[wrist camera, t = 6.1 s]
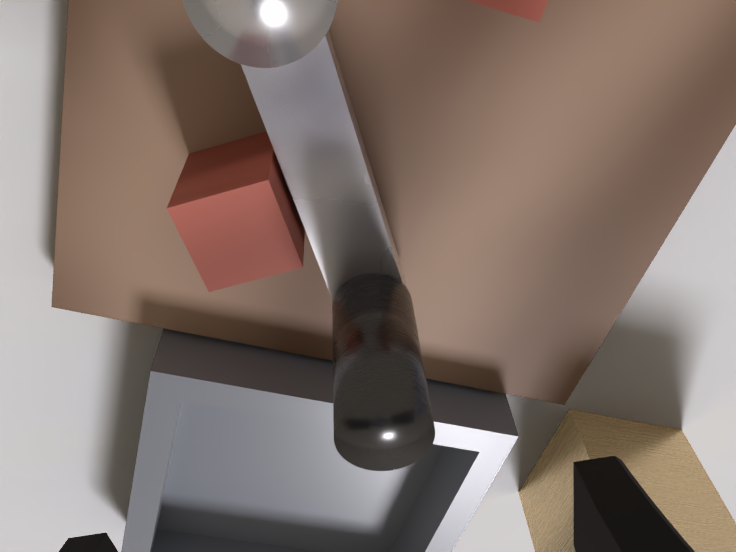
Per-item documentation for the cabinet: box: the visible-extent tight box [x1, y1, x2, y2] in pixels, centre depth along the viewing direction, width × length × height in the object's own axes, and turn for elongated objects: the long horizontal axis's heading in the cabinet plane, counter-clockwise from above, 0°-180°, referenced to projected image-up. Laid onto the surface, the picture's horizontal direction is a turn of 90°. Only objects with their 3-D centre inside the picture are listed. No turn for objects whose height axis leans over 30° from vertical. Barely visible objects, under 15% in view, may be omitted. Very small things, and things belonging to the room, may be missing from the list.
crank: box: [183, 0, 435, 471], centre depth 12 cm, size 9×3×5 cm, turn 16°
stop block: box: [519, 409, 736, 552], centre depth 21 cm, size 4×4×5 cm
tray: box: [121, 329, 519, 552], centre depth 21 cm, size 10×10×2 cm
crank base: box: [52, 0, 736, 405], centre depth 15 cm, size 14×12×4 cm
